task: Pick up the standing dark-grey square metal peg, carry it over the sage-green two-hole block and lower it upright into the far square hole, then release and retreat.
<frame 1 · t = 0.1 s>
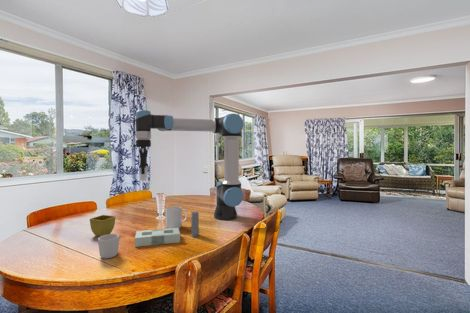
hand: (143, 178, 137), 28 cm above the table, fingers open, 13 cm apart
mug: (176, 227, 143), on the table
cup: (110, 255, 106), on the table
peg: (194, 235, 129), on the table
flower pot: (103, 235, 130), on the table
hole block: (158, 240, 122), on the table
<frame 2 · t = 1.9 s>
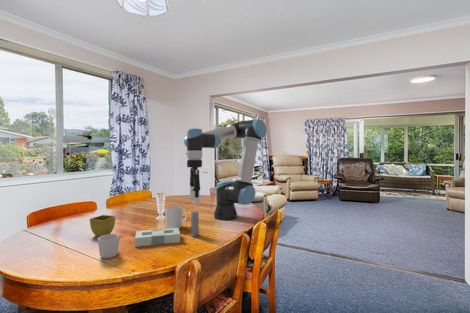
hand: (194, 201, 128), 18 cm above the table, fingers open, 13 cm apart
nothing on the table moved.
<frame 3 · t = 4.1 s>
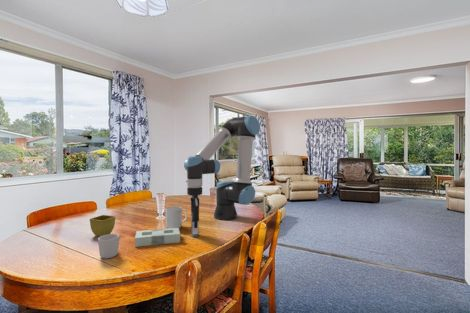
hand: (194, 232, 129), 2 cm above the table, fingers closed on peg, 3 cm apart
peg: (194, 235, 129), on the table, touching gripper
everything else where it was.
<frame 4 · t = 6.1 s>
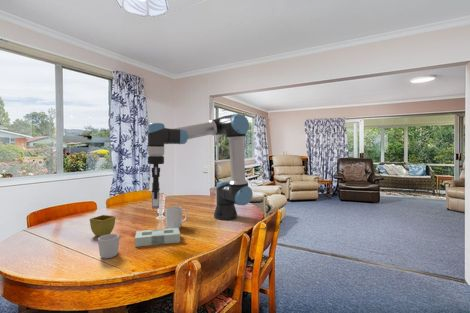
hand: (155, 204, 121), 17 cm above the table, fingers closed on peg, 3 cm apart
peg: (155, 207, 121), point 16 cm above the table, touching gripper
everything else where it was.
when the fingers open (5 cm above the table, at t = 8.3 s): peg drops 3 cm, resting in hole block.
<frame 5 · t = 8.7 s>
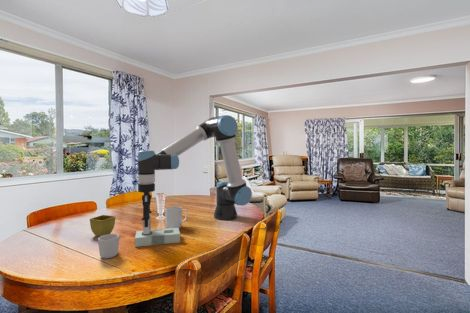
hand: (146, 230, 120), 6 cm above the table, fingers open, 9 cm apart
peg: (147, 241, 120), resting in hole block
everything else where it was.
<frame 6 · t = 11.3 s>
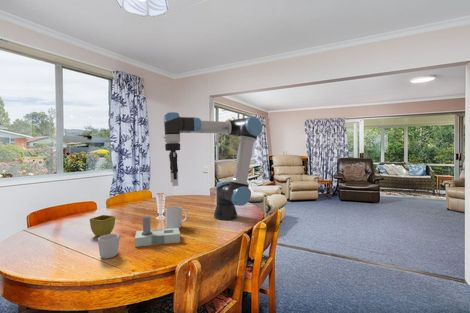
hand: (174, 184, 131), 26 cm above the table, fingers open, 13 cm apart
nothing on the table moved.
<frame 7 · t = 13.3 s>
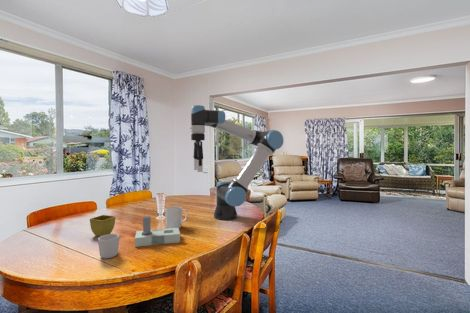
hand: (198, 170, 143), 32 cm above the table, fingers open, 13 cm apart
nothing on the table moved.
at the end: peg 0.0 cm from the target spot on the hole block, point 0.0 cm above the hole block's base; peg tilted 0°; the gripper is holding nothing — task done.
